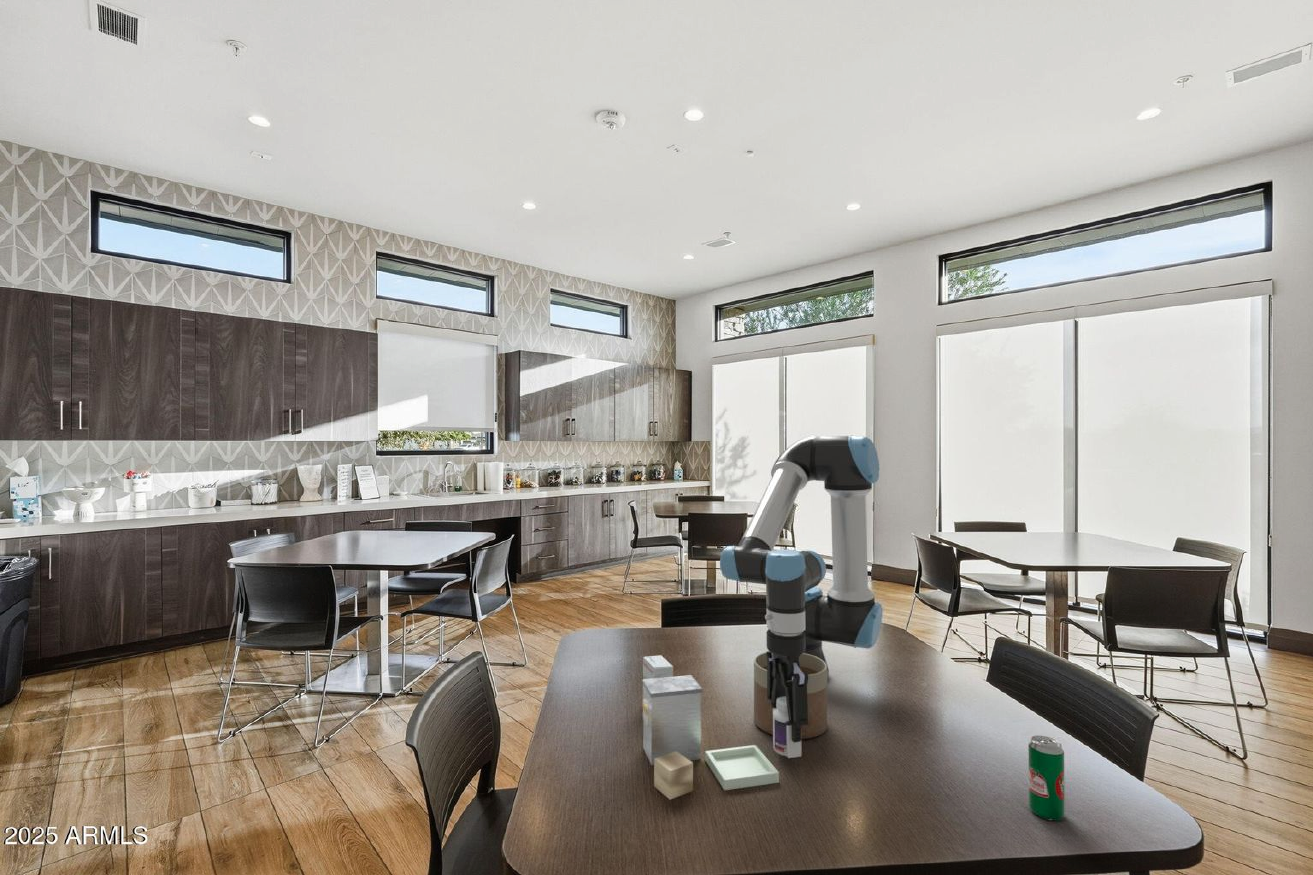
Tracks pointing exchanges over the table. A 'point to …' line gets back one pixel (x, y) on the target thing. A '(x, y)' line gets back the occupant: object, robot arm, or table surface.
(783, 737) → the pill bottle
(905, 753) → the table surface
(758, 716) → the planter
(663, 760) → the maple block
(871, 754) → the table surface
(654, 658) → the ink box
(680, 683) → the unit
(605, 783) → the table surface
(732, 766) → the tray
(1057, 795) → the soda can
